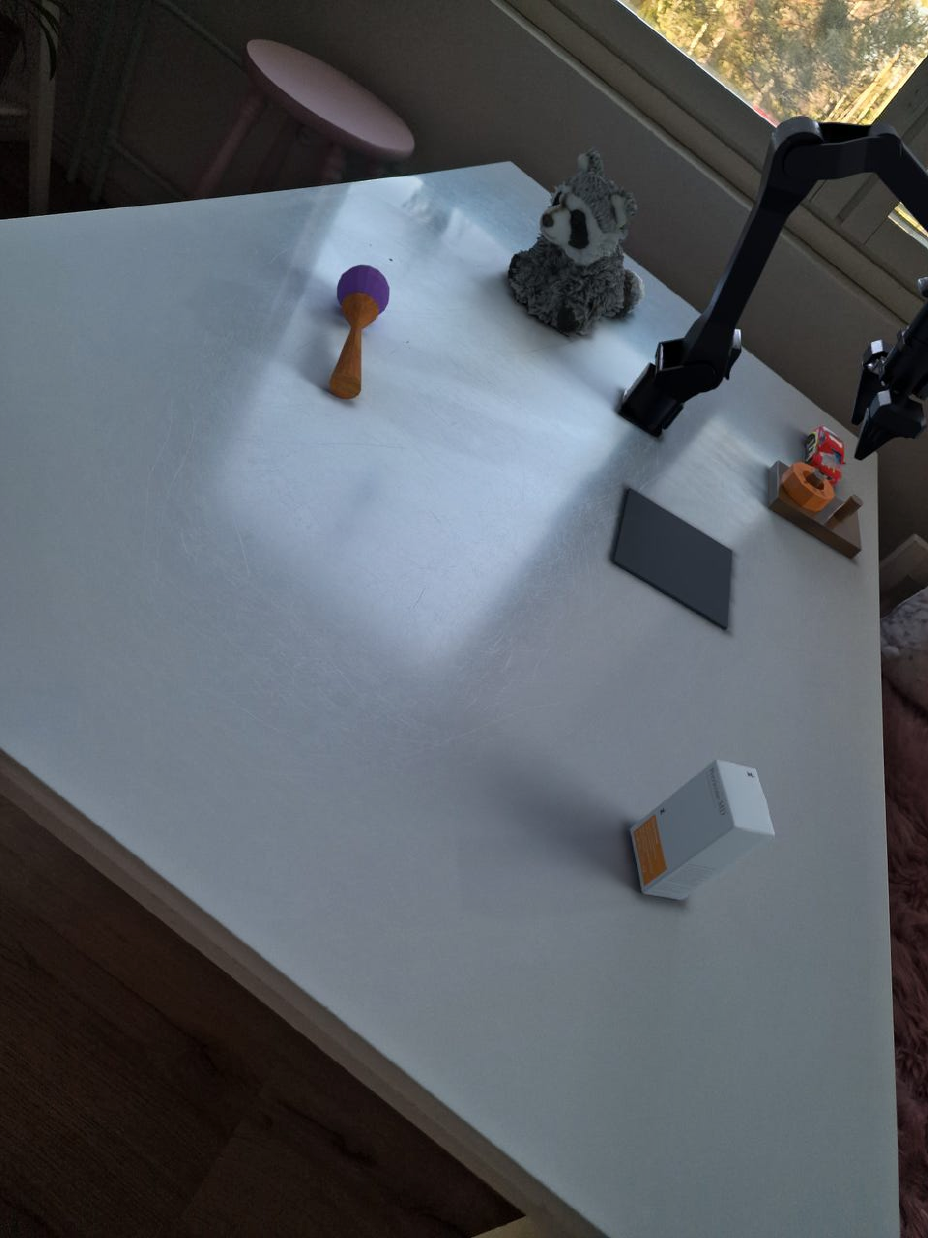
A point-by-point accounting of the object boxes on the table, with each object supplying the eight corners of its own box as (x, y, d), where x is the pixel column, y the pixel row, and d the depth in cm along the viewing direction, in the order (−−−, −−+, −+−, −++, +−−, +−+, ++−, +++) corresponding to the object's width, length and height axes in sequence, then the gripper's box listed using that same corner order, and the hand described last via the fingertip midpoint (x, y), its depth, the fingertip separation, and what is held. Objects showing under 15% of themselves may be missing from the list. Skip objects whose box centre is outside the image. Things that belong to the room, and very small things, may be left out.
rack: (768, 507, 134) (795, 478, 130) (768, 469, 141) (794, 441, 138) (851, 559, 136) (880, 533, 132) (847, 519, 143) (875, 493, 140)
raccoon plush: (470, 281, 134) (550, 136, 120) (570, 248, 158) (647, 124, 144) (553, 353, 132) (645, 216, 118) (642, 309, 156) (727, 190, 142)
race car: (831, 495, 146) (850, 476, 143) (801, 474, 145) (820, 455, 143) (833, 453, 156) (851, 435, 153) (805, 434, 155) (823, 415, 153)
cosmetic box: (626, 828, 84) (714, 756, 76) (667, 837, 86) (757, 766, 78) (639, 896, 80) (734, 826, 72) (682, 903, 82) (778, 836, 74)
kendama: (321, 355, 99) (345, 248, 112) (311, 401, 104) (335, 292, 116) (379, 371, 100) (397, 262, 113) (367, 415, 105) (385, 306, 118)
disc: (781, 493, 134) (794, 480, 132) (781, 466, 139) (793, 454, 137) (822, 519, 134) (835, 506, 133) (820, 491, 140) (833, 479, 138)
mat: (612, 562, 108) (614, 559, 108) (627, 489, 119) (629, 487, 119) (725, 630, 110) (727, 627, 110) (730, 552, 121) (732, 550, 121)
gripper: (1002, 400, 113) (918, 503, 123) (979, 332, 127) (905, 430, 137) (913, 361, 112) (836, 468, 123) (899, 297, 126) (831, 398, 137)
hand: (855, 440), depth 130 cm, fingers open, 9 cm apart
